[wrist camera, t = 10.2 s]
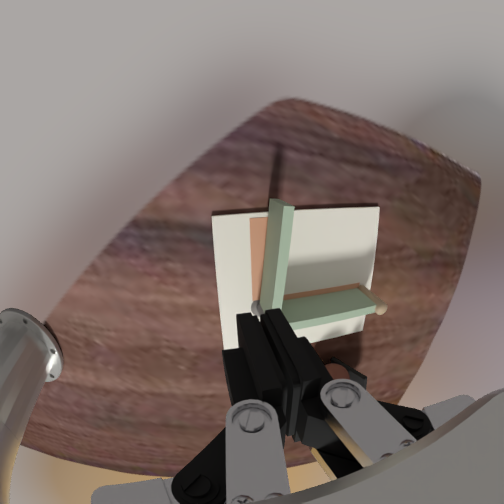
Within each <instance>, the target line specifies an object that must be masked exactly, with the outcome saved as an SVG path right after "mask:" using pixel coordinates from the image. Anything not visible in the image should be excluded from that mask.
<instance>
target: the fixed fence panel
mask: <svg viewBox="0 0 504 504" xmlns="http://www.w3.org/2000/svg"><path fill="white" fill-rule="evenodd" d="M386 310H387V304H386V303H385V302H383V301H382V300H381V299H380V298H379V297H377V296H376V295H375V294H374V293H372V292H371V291H370V290H369V289H368V288H366V287H365V286H364V285H359V286H358V287H357V288H354V289H348V290H343V291H337V292H332V293H326V294H320V295H314V296H308V297H301V298H295V299H289V300H283V303H282V310H281V311H282V312H283V314H284V316H285V317H286V319H287V321H288V322H289V324H290V326H291V327H292V329H293V330H297V329H302V328H308V327H313V326H318V325H322V324H327V323H332V322H336V321H341V320H345V319H350V318H354V317H358V316H362V315H366V314H370V313H374V312H376V313H377V314H378V315H382V314H383V313H385V311H386Z"/></svg>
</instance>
